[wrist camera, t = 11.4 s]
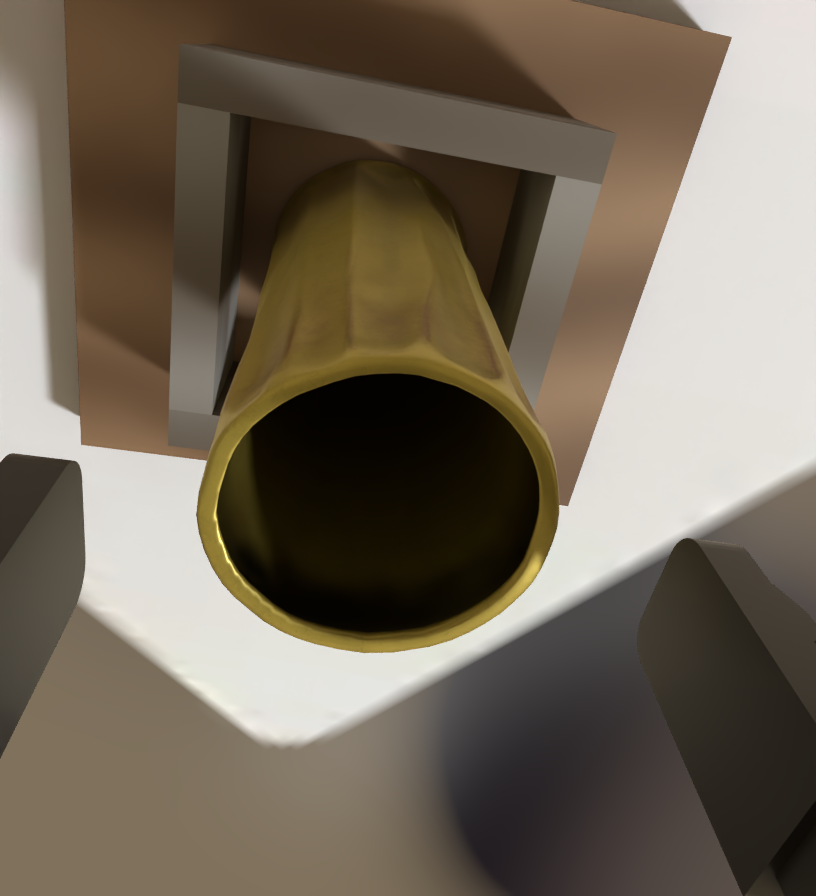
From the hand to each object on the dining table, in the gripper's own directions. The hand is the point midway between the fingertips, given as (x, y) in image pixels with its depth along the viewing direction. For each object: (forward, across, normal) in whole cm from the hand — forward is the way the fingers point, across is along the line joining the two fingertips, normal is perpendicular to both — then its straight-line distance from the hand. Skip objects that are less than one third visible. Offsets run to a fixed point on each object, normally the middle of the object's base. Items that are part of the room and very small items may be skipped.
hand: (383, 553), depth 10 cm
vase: (+15, 0, 0) cm, 15 cm away
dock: (+16, 0, 0) cm, 16 cm away
